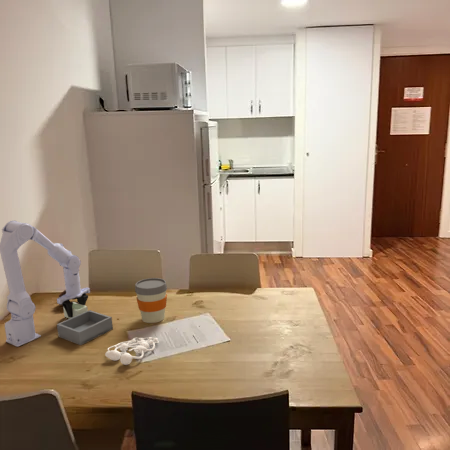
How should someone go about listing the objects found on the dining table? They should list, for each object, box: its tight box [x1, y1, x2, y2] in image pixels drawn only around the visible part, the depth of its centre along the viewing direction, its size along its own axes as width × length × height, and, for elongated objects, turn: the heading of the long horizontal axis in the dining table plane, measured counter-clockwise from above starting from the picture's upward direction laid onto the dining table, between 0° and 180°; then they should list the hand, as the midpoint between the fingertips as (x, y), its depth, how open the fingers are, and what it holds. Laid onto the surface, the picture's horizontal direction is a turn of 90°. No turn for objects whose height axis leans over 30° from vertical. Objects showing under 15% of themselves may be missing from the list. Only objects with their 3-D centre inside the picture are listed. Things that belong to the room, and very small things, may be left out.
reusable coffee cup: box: [134, 277, 168, 324], centre depth 178 cm, size 13×13×15 cm
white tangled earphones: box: [104, 336, 160, 366], centre depth 154 cm, size 19×14×4 cm
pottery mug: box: [56, 289, 77, 306], centre depth 197 cm, size 12×10×8 cm
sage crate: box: [62, 301, 89, 320], centre depth 182 cm, size 5×9×5 cm, turn 55°
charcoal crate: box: [56, 309, 114, 346], centre depth 168 cm, size 15×13×5 cm
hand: (76, 314), depth 183 cm, fingers closed on sage crate, 5 cm apart
